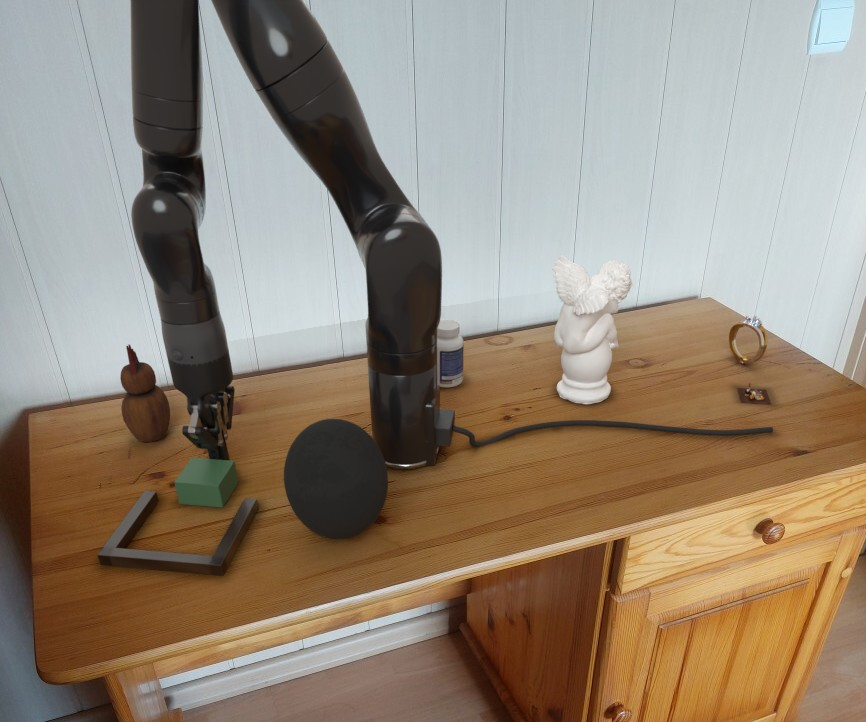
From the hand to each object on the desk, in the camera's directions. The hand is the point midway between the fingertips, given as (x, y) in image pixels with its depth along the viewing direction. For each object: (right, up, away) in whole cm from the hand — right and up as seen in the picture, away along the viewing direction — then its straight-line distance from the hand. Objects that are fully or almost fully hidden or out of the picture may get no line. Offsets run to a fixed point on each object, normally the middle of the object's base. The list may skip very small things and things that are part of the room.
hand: (221, 466), depth 112 cm
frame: (-2, -9, -10) cm, 14 cm away
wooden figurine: (-12, +5, +9) cm, 16 cm away
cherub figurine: (+53, +12, +17) cm, 57 cm away
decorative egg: (+18, -9, -10) cm, 22 cm away
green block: (-1, -4, -3) cm, 5 cm away
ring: (+82, +20, +27) cm, 88 cm away
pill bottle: (+31, +16, +22) cm, 42 cm away
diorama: (+80, +13, +17) cm, 83 cm away
